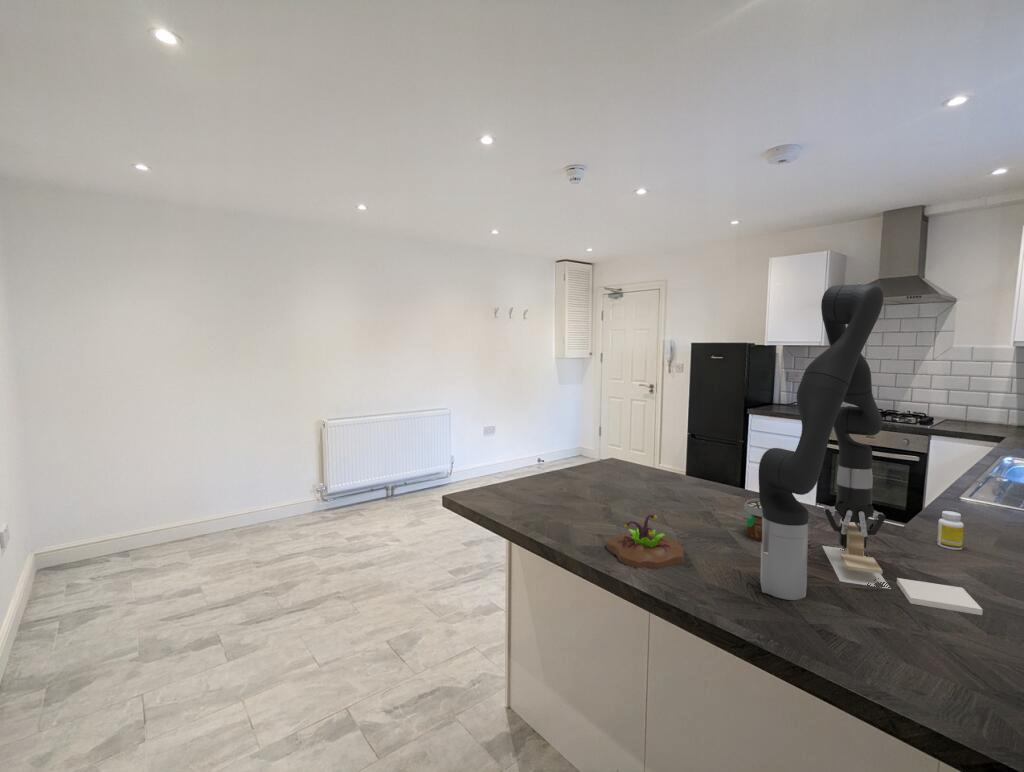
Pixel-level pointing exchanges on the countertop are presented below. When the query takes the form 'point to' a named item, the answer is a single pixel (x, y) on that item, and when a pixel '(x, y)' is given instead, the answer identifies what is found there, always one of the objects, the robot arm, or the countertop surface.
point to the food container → (754, 518)
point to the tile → (938, 596)
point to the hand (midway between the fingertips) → (852, 547)
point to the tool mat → (848, 574)
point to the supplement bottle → (950, 531)
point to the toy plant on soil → (646, 547)
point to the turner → (858, 552)
